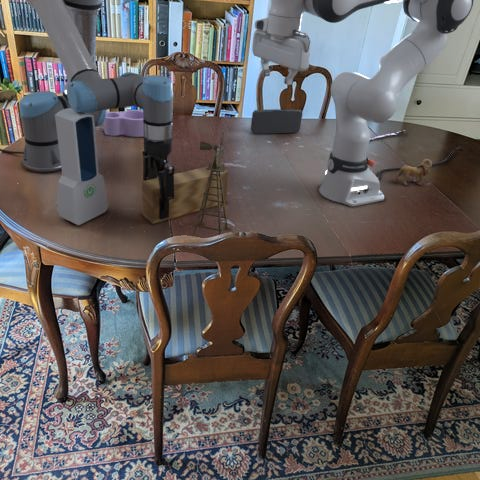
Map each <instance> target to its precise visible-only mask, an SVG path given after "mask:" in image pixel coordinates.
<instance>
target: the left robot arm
mask: <svg viewBox="0 0 480 480" xmlns="http://www.w3.org/2000/svg"><path fill="white" fill-rule="evenodd" d="M26 3H27V5H28V6H30V8H31V9H34V10H35V12H36V14H37V17H38V18H39V20H40V23H41V24H42V26H43V29H44V30H45V32H46V35H47V36H48V39H49V41H50V44H51V45H52V47H53V49H54V51H55V53H56V55H57V58H58V60H59V61H60V63H61V66H62V67H63V70H64V71H65V74H66V78H67V79H66V80H67V83H66V84H64V85H63V87H62V95H58V94H57V93H56V92H54V91H49V90H46V91H44V90H41V91H35V92H31V93H28V94H26V95H24V96H23V97H21V99H20V100H19V103H18V104H19V116H20V119H21V125H22V132H23V137H24V148H23V151H13V150H12V151H11V150H5V149H2V148H0V152H3V153H6V154H15V155H16V154H19V155H22V158H21V159H22V160H21V161H22V166H23V168H24V169H25V170H27V171H29V172H33V173H39V174H46V173H56V172H61V171H62V168H61V161H60V153H59V145H58V137H57V129H56V121H55V114H56V113H58V112H59V111H61V110H63V109H67V108H72V109H73V110H74V111H75V112H78V113H88V114H91V115H94V123H95V128H97V127H100V126H102V125H103V124H104V123H103V122H104V120H105V117H106V112H107V110H112V109H122V108H129V107H137V108H139V109H141V110H142V111H143V132H144V136H143V150H142V163H143V164H142V181H145V180H150V179H155V178H158V181H159V187H160V194H161V198H159V218H160V219H164V218H168V217H169V200H171V199H174V174H175V170H176V168H175V166H174V165H171V164H170V162H169V161H170V160H169V155H170V154H171V153H172V152H173V138H172V137H173V125H174V124H173V118H174V117H173V116H174V115H173V113H174V111H173V110H174V97H175V96H174V95H175V94H174V91H173V90H174V89H173V88H174V87H173V81H172V79H171V78H169V77H167V76H165V75H159V74H152V75H151V74H150V75H146V76H143V75H141V74H138V73H134V72H131V71H130V72H128V71H127V72H124V73H122V74H121V75H120V76H119V77H109V78H102V76H101V74H100V73H99V71H98V69H97V67H96V57H97V55H96V54H97V53H96V52H97V13H98V12H99V11H100V10H101V9H102V8H103V0H26Z"/></svg>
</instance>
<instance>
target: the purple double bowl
mask: <svg viewBox="0 0 480 480" xmlns="http://www.w3.org/2000/svg"><path fill="white" fill-rule="evenodd" d="M102 124H103V131H104V135H107V136H112V137H114V136H127V137H133V138H140V137H141V138H143V137H144V132H143V109H141V110H140V109H128V110H124V111H106V117H105V120H104V122H103V123H102Z"/></svg>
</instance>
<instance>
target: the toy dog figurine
mask: <svg viewBox="0 0 480 480" xmlns="http://www.w3.org/2000/svg"><path fill="white" fill-rule="evenodd" d="M432 164H433V162H432V160H431V159H428V158H425V159H422V161H421V163H419V165H417V166H418V167H410V166H411V165H404V166H401V167H402V168H401V169H400V170H398V172H397V174H395V176H394V179H393V182H392V184H395V183H396V182H398V178H399V177H402V176H403V178H402V183H403V185H404V186H408V183H407V182H406V180H407V179H408V178H409V177H413V180H412V182H414V183H416V182H417V184H418V185H420V186H422V181H423V179H424V177H426V176H427V175H428V174H429V173H430V171H431V170H432V167H433V166H432ZM417 178H418V180H417Z"/></svg>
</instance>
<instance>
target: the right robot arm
mask: <svg viewBox="0 0 480 480" xmlns="http://www.w3.org/2000/svg"><path fill="white" fill-rule="evenodd" d="M399 2H400V3H401V2H402V8H403V12H404V15H405V16H406V17H407V18H408V19H409V20H411V21H413V22H417V25H416V26H415V27H414V29H413V30H412V31H411V32H410V33H409V34H408V35H406V36H405V37H404V38H403V39H401V40H400V41H399V42H398V43H396V44H395V45H394V46H393V47H391V48H390V49H389V50H388V51H387V52H386V53H384V54H383V55H382V56H381V58H380V60H379V70H378V71H377V72H376V73H375V74H374V75H372V76H371V77H367V76H364V75H362V74H360V73H359V72H351V71H344V72H341V73H339V74H337V75H336V76H335V78H334V79H333V81H332V82H331V85H330V95H331V98H332V100H333V103H334V110H335V134H334V140H333V145H332V150H331V151H330V153H329V157H328V161H327V170H325V173H324V175H325V176H324V178H323V181H322V183H321V185H320V187H319V188H318V191H319V193H320V195H321V196H323V198H326V199H327V200H330V201H332V202H336V203H340V204H343V205H346V206H349V207H357V206H363V205H368V204H373V203H378V202H382V201H384V200H385V195H384V193H383V191H382V190H380V186H381V183H380V178H381V174H382V173H384V172H389V171H390V172H391V171H399V170H400V169H401V168H402V167H403V166H400V167H399V166H398V167H389V168H383V169H381V170H379V171H378V173H377V175H375V173H374V172H373V170H372V169H370V168H373V167H374V166H375V165H376V162H375V161H374V160H373V159H369V157H368V156H367V153H368V149H369V145H370V142H371V141H370V138H372V137H371V131H370V129H369V126H368V122H371V123H376V124H383V123H385V122H388V121H389V120H390V119H391V118H392V117H393V115H394V114H395V113H396V110H397V107H398V97H399V94H400V93H401V91H402V90H403V88H404V87H405V86H406V85H407V84H408V83H409V82H410V81H411V80H413V79H414V78H415V77H416V76H417V75H419V74H420V73H421V72H422V71H424V70H425V69H426V68H427V67H428V66H429V65H430V64H432V62H433V61H434V60H435V59H436V58H438V56H439V55H440V53H442V51H443V50H444V48H446V46H447V41H448V37H447V34H450V33H453V32H455V31H456V30H457V29H458V27H459V26H460V25H462V24H463V23H464V22H465V20H466V19H467V18H468V17H469V16H470V13H471V11H472V9H473V7H474V0H270V8H269V10H268V16H267V17H265V18H261V19H260V18H259V19H257V20H255V21H254V29H255V30H254V33H253V38H252V46H251V51H252V54H253V56H254V57H257V58H260V65H261V68H262V71H261V72H262V73H261V75H262V76H264V77H270V75H271V70H272V69H270V68H269V63H270V62H271V63H274V64H277V65H280V66H282V67H284V68H287V70H288V71H287V72H288V75H287V76H285V77H284V81H283V83H284V84H285V85H286V86H291V85H292V84H293V80H294V79H295V76H296V75H297V74H298V72H305V71H307V70H308V69H309V67H310V61H311V39H310V37H309V34H308V33H306V32H302V31H301V25H302V19H303V13H307V14H310V15H312V16H314V17H317V18H320V19H322V20H323V21H325V22H328V23H331V24H337V23H340V22H342V21H344V20H346V19H347V18H348V17H350V16H351V15H352V14H354V13H355V12H358V11H359V10H362V9H366V8H370V7H375V6H377V5H382V4H391V3H399ZM459 148H462V147H461V146H458V147H456V149H459ZM459 150H460V151H463V148H462V149H459ZM453 151H454V150H453ZM453 151H451V152H450V153H449V155H448V156H447V157H446V158H445V159H442V160H440V161H437V162H434V163H433V162H432V167H433V166H438V165H441V164H443V163H445V162H447V161H448V160H449V159H451V157H452V156H453V154H455V153H456V152H457V151H454V152H453ZM452 152H453V153H452ZM451 153H452V154H451ZM450 154H451V156H450ZM449 156H450V157H449ZM448 157H449V158H448ZM447 158H448V159H447ZM409 166H410V167H418V166H419V165H409ZM369 167H370V168H369Z"/></svg>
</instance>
